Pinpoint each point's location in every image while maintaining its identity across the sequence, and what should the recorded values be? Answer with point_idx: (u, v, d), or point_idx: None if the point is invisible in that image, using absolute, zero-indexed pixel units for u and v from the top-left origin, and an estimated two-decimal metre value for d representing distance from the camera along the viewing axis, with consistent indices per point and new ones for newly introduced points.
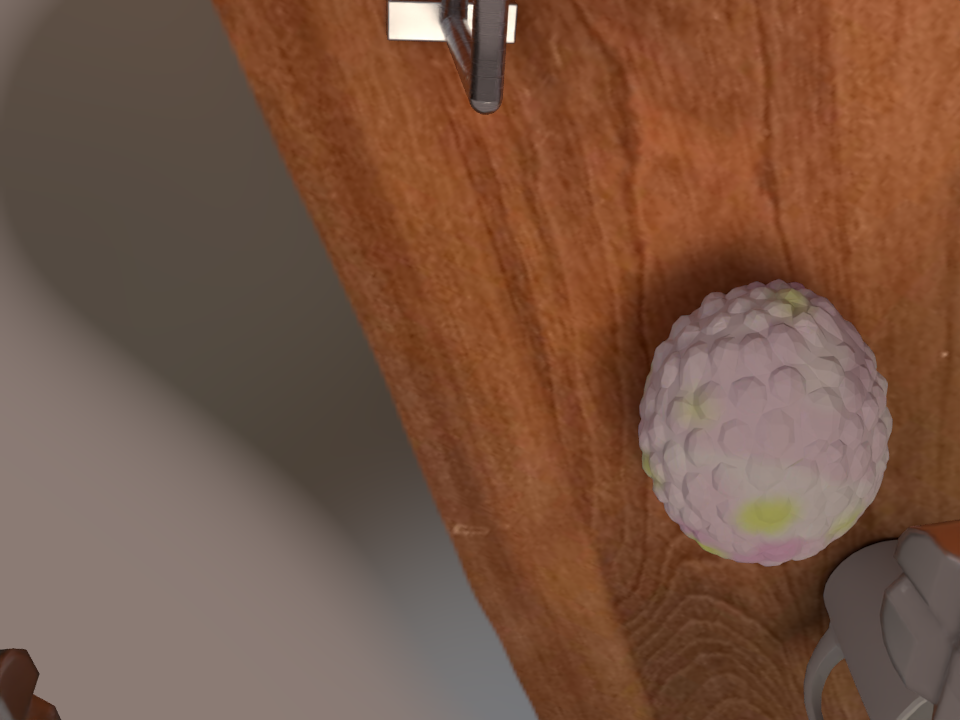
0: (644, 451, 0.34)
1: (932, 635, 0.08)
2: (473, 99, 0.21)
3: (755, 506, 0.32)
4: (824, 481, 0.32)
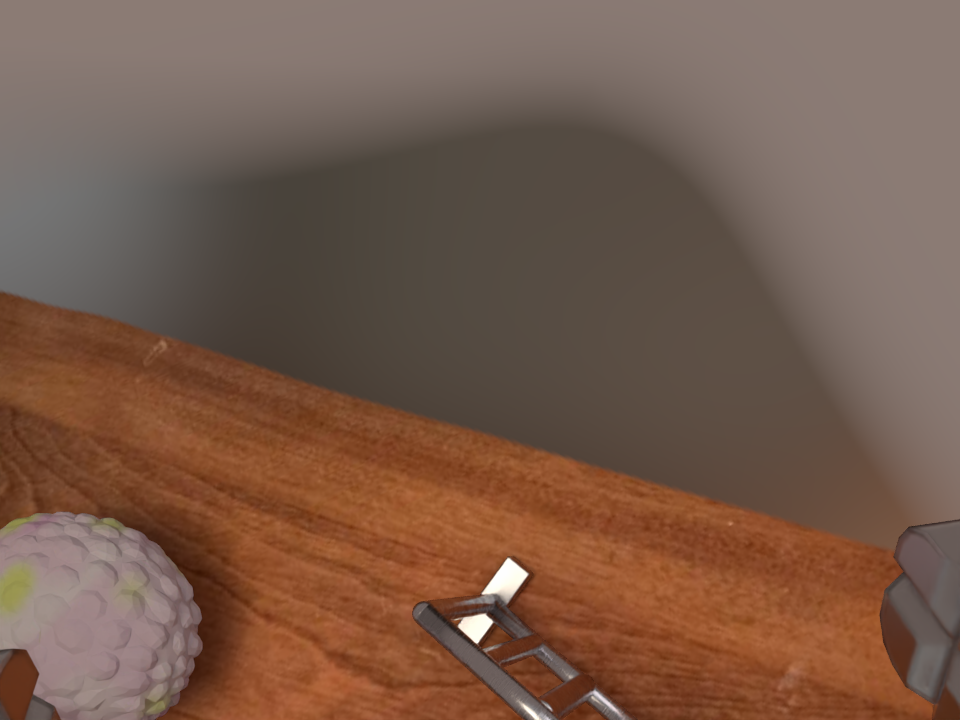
0: (124, 529, 0.40)
1: (931, 635, 0.08)
2: (427, 606, 0.31)
3: (27, 585, 0.38)
4: (9, 647, 0.37)
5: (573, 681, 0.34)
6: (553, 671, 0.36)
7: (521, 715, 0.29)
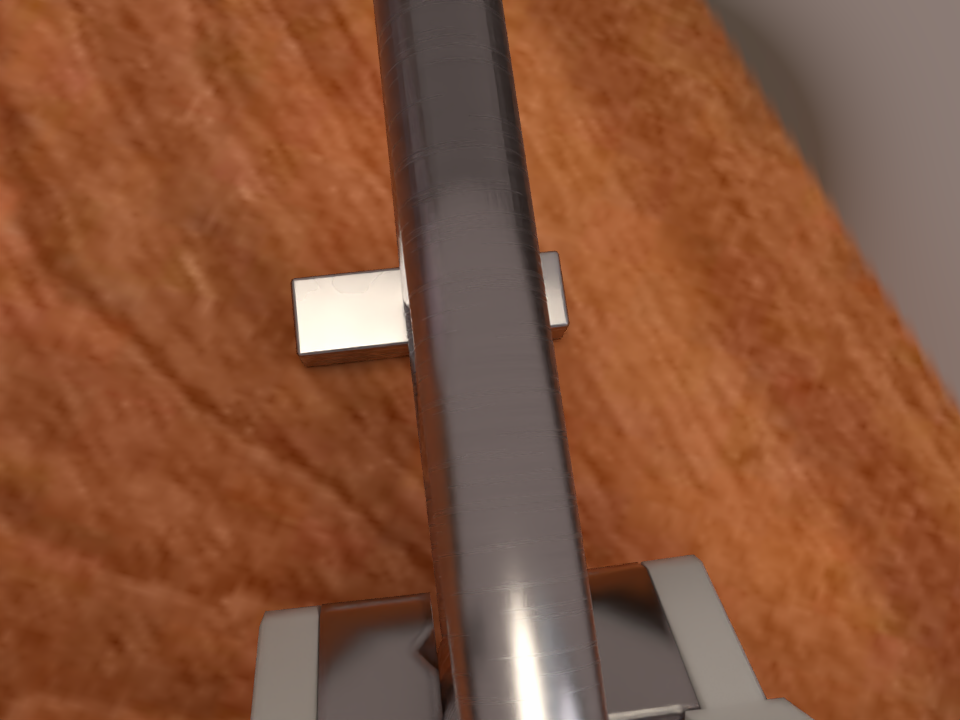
0: None
1: None
2: None
3: None
4: None
5: None
6: None
7: None
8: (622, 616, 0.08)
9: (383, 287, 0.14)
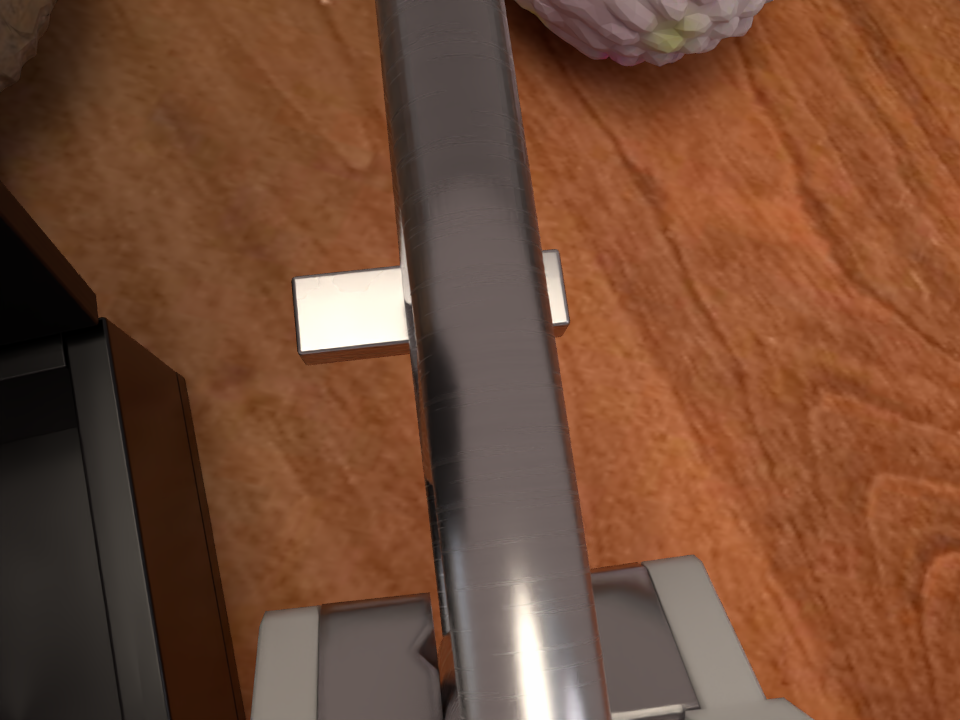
0: None
1: None
2: None
3: None
4: None
5: None
6: None
7: None
8: (622, 616, 0.08)
9: (384, 285, 0.14)
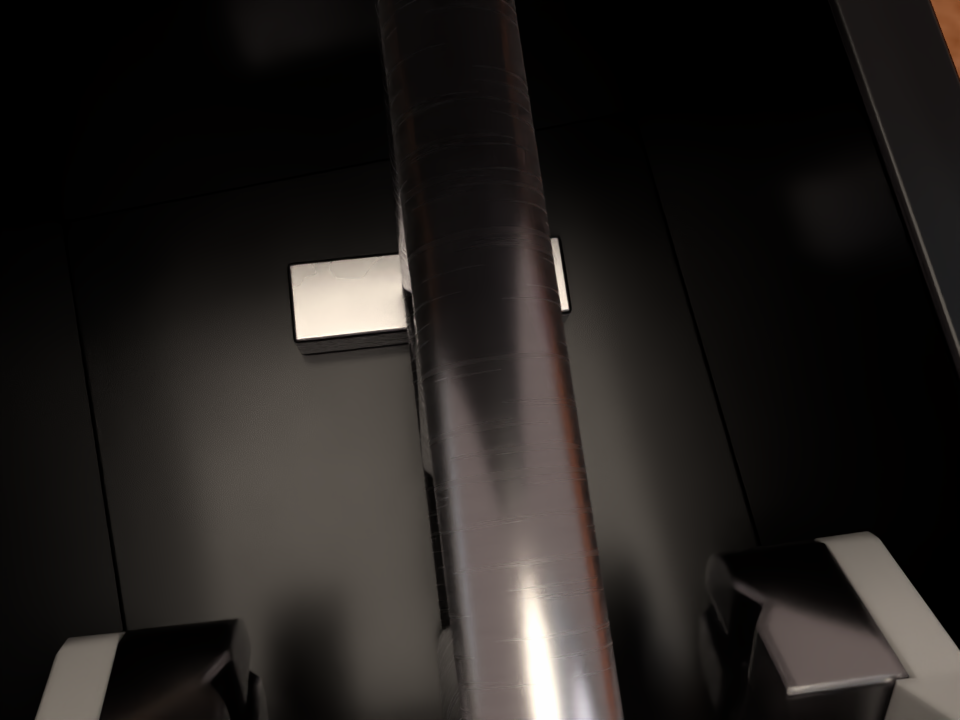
0: None
1: (734, 664, 0.08)
2: None
3: None
4: None
5: None
6: None
7: (490, 719, 0.04)
8: (812, 589, 0.08)
9: (381, 272, 0.13)
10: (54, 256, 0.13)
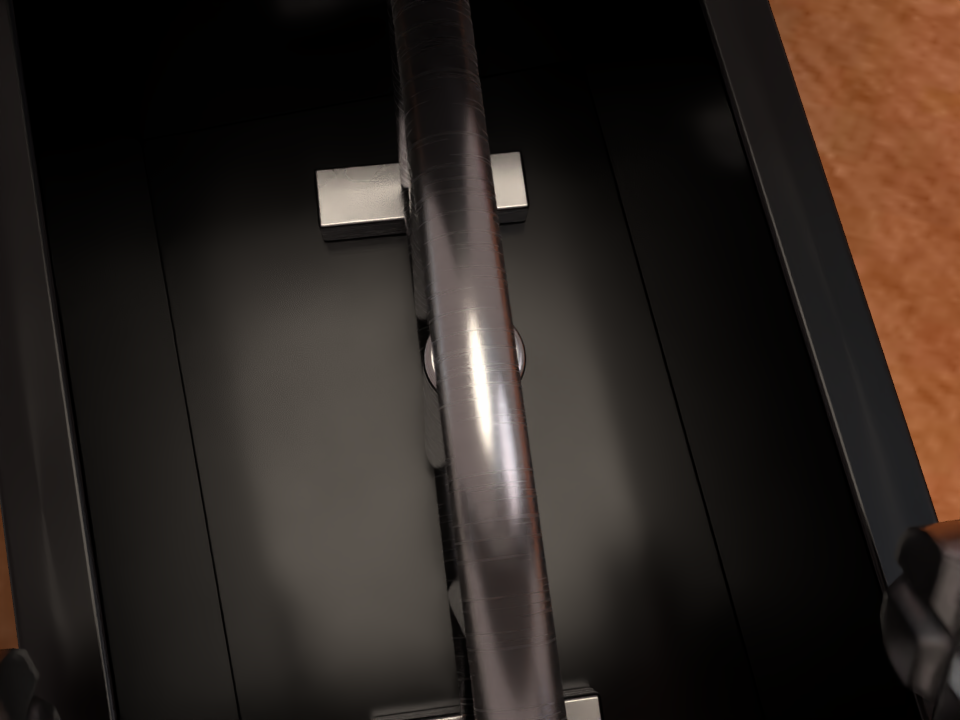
0: None
1: (932, 634, 0.08)
2: None
3: None
4: None
5: None
6: None
7: (442, 308, 0.09)
8: None
9: (385, 176, 0.17)
10: (137, 163, 0.17)
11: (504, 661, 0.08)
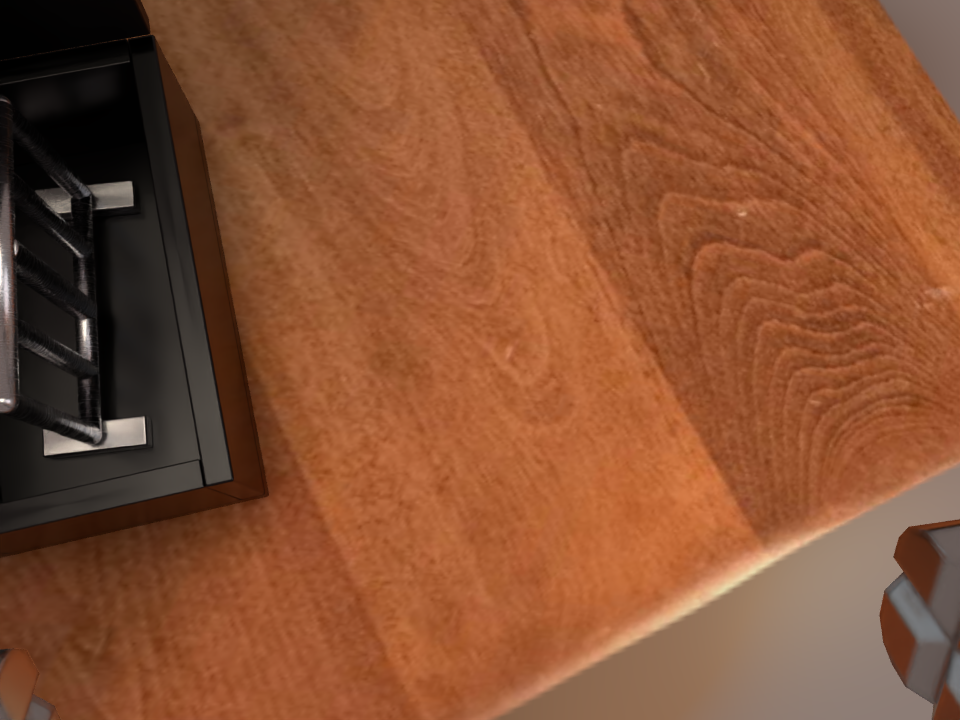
0: None
1: (931, 634, 0.08)
2: (5, 101, 0.30)
3: None
4: None
5: (73, 286, 0.34)
6: (75, 279, 0.37)
7: None
8: None
9: None
10: None
11: None
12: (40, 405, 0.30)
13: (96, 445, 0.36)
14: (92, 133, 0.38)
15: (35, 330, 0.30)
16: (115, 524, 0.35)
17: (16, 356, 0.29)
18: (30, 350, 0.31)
